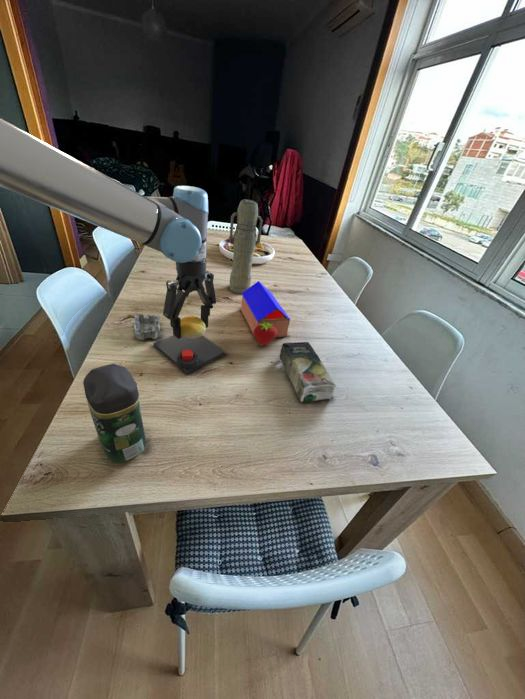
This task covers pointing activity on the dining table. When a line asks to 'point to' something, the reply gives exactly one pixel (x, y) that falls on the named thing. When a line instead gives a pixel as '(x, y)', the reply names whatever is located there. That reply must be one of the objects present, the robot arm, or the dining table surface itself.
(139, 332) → the egg carton
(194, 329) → the bread roll
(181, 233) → the robot arm
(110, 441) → the coffee jar
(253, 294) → the house
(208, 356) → the red button pad
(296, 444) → the dining table surface
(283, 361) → the juice carton
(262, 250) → the bowl
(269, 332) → the strawberry
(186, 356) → the power button
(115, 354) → the dining table surface
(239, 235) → the thermos
